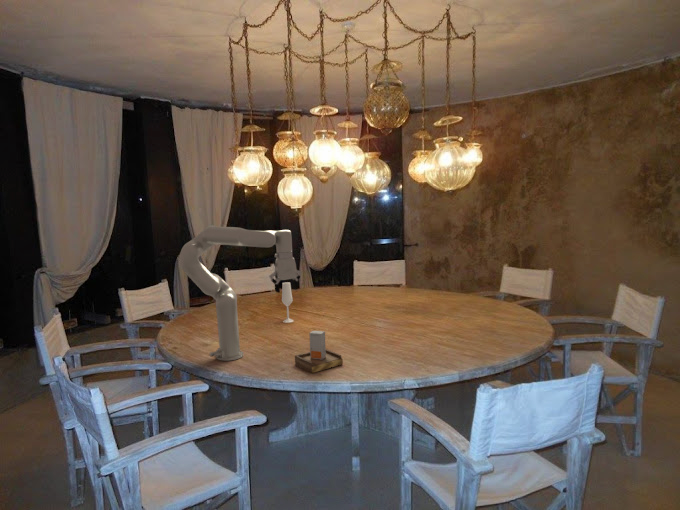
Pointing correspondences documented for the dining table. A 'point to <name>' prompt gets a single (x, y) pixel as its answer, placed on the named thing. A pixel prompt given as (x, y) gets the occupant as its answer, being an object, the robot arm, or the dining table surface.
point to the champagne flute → (287, 298)
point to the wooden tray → (318, 361)
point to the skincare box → (317, 345)
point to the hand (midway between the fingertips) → (286, 290)
